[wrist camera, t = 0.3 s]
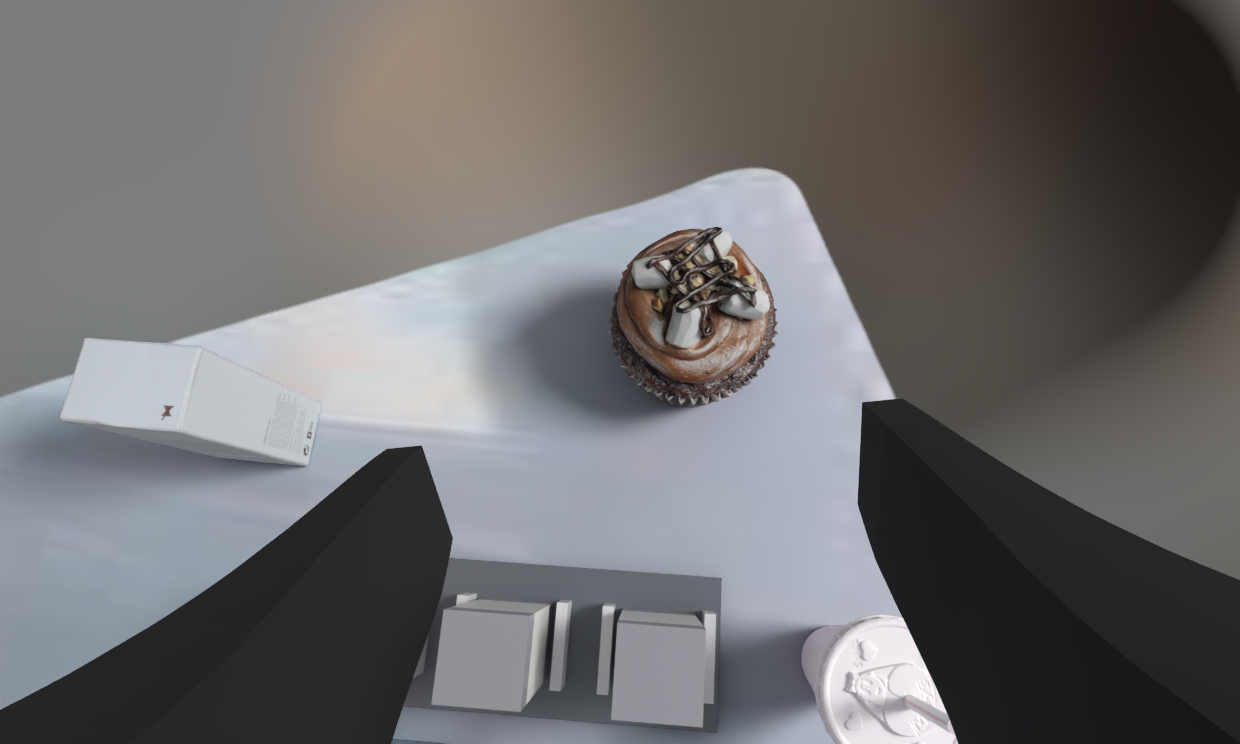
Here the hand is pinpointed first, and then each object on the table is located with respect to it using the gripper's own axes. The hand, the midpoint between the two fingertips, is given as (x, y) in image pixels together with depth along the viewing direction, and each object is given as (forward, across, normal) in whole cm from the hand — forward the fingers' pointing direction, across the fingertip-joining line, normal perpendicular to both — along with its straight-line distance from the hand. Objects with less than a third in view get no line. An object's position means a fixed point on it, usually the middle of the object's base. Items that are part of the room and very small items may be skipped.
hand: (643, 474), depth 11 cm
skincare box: (+26, +25, +14) cm, 39 cm away
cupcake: (+30, -2, +13) cm, 32 cm away
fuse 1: (+17, +10, +23) cm, 30 cm away
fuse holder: (+17, +10, +24) cm, 31 cm away
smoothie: (+17, -8, +27) cm, 33 cm away
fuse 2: (+16, +2, +25) cm, 30 cm away
